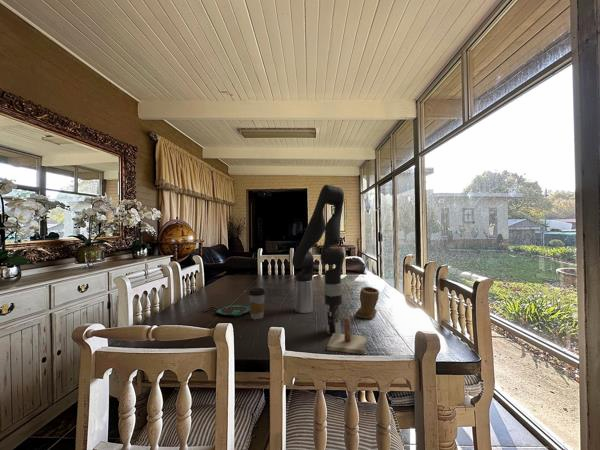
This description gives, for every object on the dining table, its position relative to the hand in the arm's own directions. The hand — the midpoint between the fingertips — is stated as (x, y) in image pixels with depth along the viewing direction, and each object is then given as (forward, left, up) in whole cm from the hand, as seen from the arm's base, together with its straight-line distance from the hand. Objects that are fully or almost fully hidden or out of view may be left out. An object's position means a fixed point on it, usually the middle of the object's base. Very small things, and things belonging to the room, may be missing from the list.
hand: (333, 330), depth 129 cm
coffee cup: (-42, +9, -1) cm, 43 cm away
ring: (0, 0, -1) cm, 1 cm away
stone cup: (+13, +28, -1) cm, 31 cm away
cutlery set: (-64, +16, -1) cm, 66 cm away
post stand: (+8, -12, -1) cm, 14 cm away
